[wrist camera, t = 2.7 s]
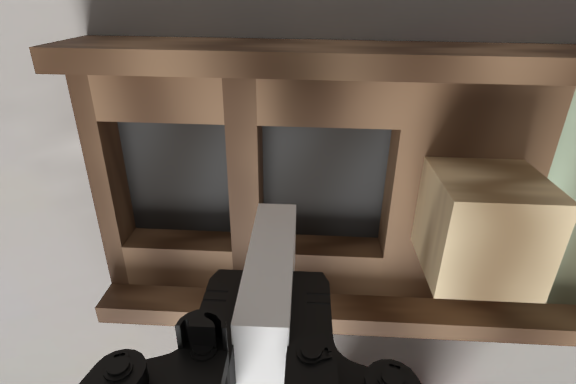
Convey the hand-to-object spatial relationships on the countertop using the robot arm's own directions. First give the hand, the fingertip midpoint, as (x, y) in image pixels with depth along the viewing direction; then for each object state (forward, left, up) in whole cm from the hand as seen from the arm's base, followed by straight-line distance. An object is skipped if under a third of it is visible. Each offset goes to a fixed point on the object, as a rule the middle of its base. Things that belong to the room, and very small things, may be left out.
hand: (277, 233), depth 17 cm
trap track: (-5, 0, -6) cm, 8 cm away
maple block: (-9, 0, -4) cm, 10 cm away
